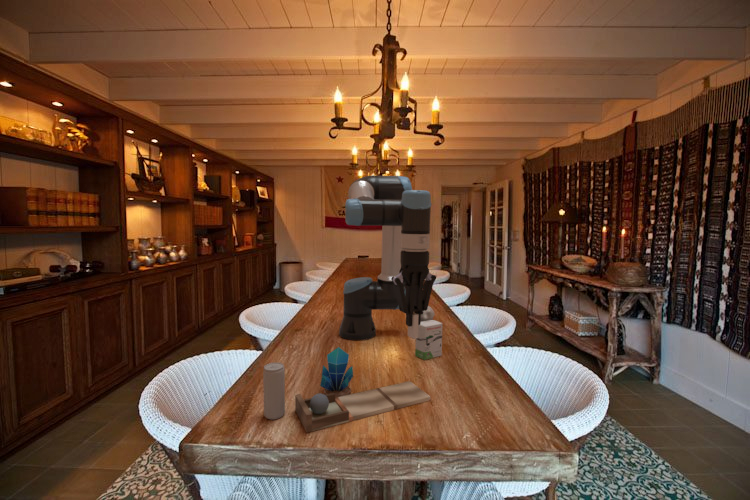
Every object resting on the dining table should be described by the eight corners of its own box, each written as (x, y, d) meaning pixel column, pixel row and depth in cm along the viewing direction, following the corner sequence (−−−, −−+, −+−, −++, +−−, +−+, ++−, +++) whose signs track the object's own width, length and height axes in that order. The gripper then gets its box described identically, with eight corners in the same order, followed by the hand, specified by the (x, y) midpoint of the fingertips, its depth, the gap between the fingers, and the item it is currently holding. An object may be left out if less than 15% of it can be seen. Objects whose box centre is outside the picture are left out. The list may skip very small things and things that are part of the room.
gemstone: (323, 386, 98) (323, 344, 97) (353, 387, 98) (354, 345, 97) (317, 399, 91) (317, 354, 90) (351, 400, 91) (351, 355, 90)
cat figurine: (420, 297, 173) (426, 300, 158) (434, 306, 173) (441, 310, 158) (410, 314, 173) (415, 319, 158) (424, 322, 173) (430, 328, 158)
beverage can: (266, 409, 85) (265, 362, 85) (286, 409, 86) (286, 361, 85) (261, 421, 81) (261, 370, 80) (282, 420, 81) (282, 370, 80)
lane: (295, 410, 85) (295, 394, 85) (409, 384, 100) (410, 370, 100) (306, 432, 76) (306, 415, 76) (430, 400, 91) (430, 385, 91)
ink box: (423, 360, 118) (424, 326, 117) (414, 355, 122) (415, 322, 121) (442, 355, 122) (443, 322, 121) (432, 351, 126) (433, 319, 126)
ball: (316, 387, 86) (326, 398, 87) (303, 402, 84) (314, 413, 85) (324, 393, 82) (335, 404, 84) (311, 409, 80) (322, 420, 82)
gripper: (400, 252, 85) (398, 345, 88) (443, 250, 91) (440, 338, 93) (386, 249, 92) (384, 336, 94) (427, 247, 98) (424, 329, 100)
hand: (412, 337), depth 94 cm, fingers closed
